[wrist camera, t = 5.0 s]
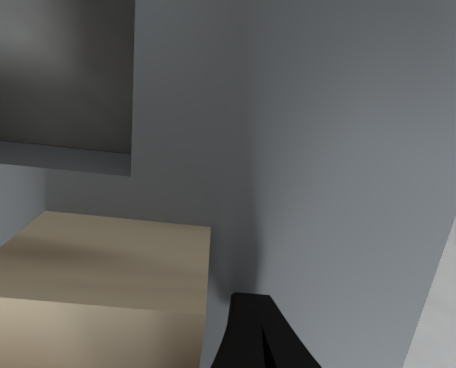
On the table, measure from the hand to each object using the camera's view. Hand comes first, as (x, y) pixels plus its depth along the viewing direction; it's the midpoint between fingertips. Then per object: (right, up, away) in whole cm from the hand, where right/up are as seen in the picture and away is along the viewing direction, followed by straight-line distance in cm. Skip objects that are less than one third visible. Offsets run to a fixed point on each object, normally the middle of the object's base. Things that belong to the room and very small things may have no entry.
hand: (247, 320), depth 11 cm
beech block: (-4, +1, +1) cm, 4 cm away
